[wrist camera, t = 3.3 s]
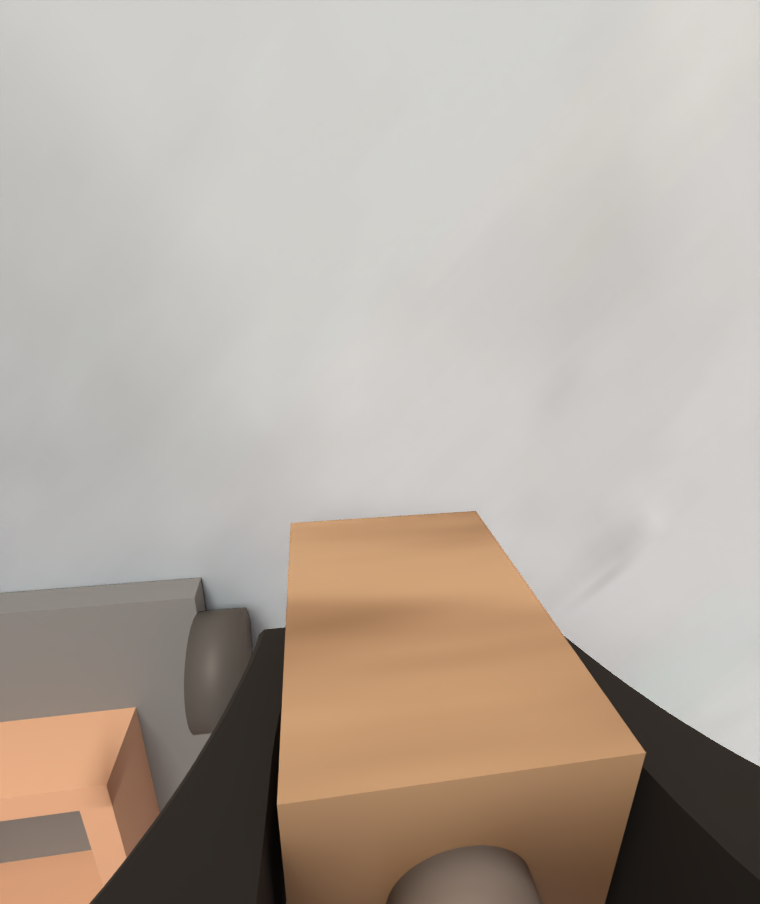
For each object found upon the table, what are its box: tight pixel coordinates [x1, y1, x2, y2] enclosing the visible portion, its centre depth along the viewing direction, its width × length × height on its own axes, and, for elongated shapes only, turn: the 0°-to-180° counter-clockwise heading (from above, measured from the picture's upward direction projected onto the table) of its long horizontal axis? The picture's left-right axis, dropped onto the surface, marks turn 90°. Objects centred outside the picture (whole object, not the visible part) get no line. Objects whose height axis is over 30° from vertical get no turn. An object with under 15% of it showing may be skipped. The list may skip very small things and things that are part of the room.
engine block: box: [277, 511, 646, 904], centre depth 9 cm, size 4×4×7 cm
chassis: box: [0, 578, 252, 904], centre depth 19 cm, size 18×15×4 cm
